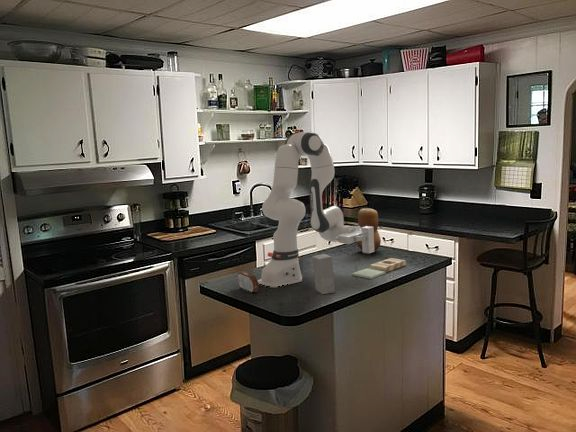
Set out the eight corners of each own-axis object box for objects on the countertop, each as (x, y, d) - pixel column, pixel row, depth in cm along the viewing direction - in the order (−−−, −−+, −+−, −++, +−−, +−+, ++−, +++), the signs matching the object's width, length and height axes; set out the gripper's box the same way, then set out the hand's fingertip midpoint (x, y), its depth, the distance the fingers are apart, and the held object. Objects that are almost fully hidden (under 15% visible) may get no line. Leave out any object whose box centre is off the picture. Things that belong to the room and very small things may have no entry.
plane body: (385, 272, 237) (385, 267, 236) (370, 269, 243) (370, 264, 243) (405, 265, 248) (405, 260, 248) (390, 262, 255) (390, 257, 254)
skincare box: (335, 292, 210) (334, 256, 208) (320, 295, 208) (318, 258, 206) (328, 287, 218) (326, 252, 216) (313, 289, 217) (311, 254, 214)
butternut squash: (385, 250, 282) (384, 207, 278) (373, 255, 272) (371, 210, 268) (364, 248, 291) (363, 206, 287) (352, 253, 281) (350, 209, 277)
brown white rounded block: (259, 294, 215) (258, 275, 214) (253, 295, 214) (252, 276, 212) (243, 286, 228) (241, 269, 227) (237, 288, 226) (235, 270, 225)
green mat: (370, 278, 228) (370, 276, 228) (352, 275, 236) (352, 273, 236) (385, 273, 235) (385, 271, 235) (366, 270, 243) (366, 268, 243)
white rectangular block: (369, 253, 231) (368, 228, 229) (362, 252, 234) (361, 227, 232) (374, 251, 234) (373, 226, 232) (367, 250, 237) (366, 226, 235)
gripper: (332, 232, 235) (354, 235, 225) (359, 225, 248) (382, 227, 238) (332, 245, 236) (355, 248, 226) (360, 237, 250) (382, 240, 239)
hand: (369, 237), depth 232 cm, fingers closed on white rectangular block, 4 cm apart
